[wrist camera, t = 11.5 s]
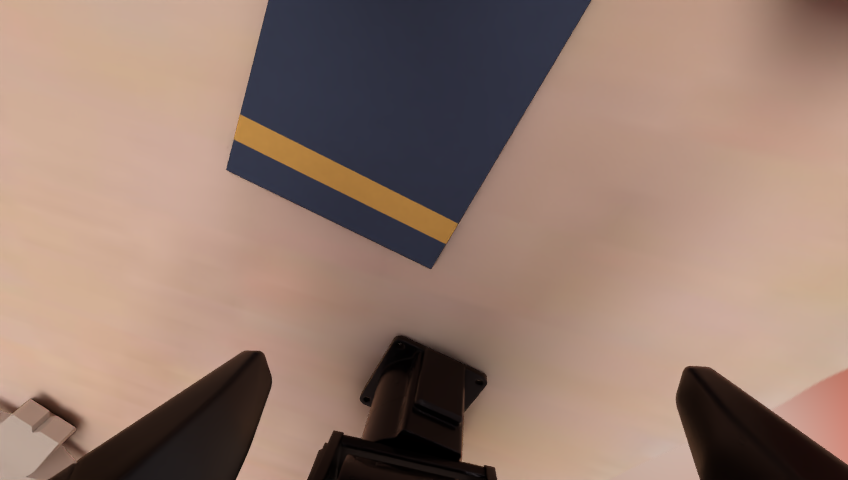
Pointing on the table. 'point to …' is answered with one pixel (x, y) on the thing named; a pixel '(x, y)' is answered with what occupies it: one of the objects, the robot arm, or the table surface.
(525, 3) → the towel
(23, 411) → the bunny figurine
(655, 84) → the table surface
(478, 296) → the table surface
